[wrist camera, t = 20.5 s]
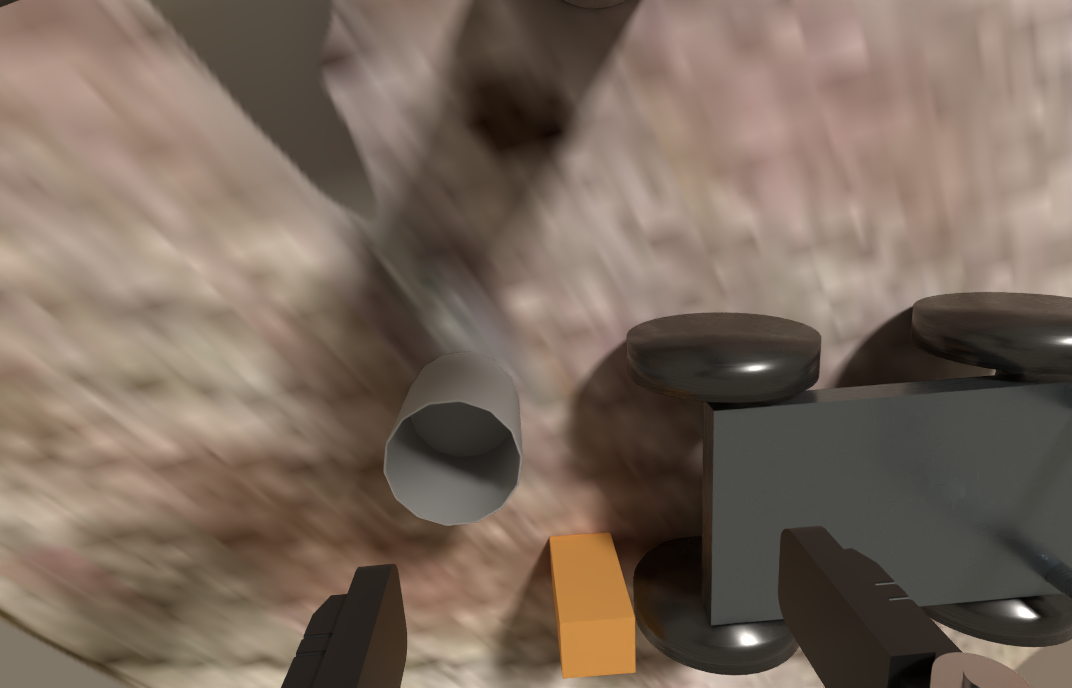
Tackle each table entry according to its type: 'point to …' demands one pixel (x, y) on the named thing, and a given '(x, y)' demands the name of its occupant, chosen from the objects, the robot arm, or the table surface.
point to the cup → (456, 441)
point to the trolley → (868, 475)
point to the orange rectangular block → (591, 606)
